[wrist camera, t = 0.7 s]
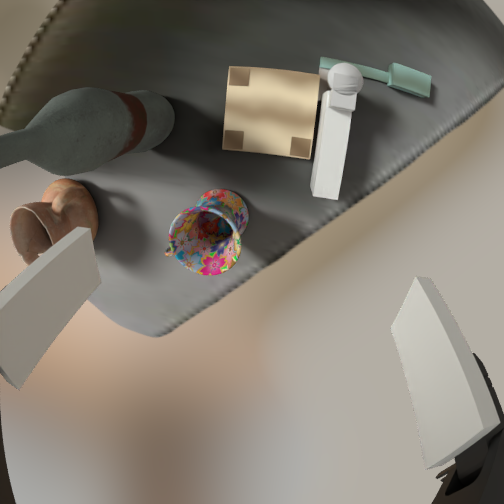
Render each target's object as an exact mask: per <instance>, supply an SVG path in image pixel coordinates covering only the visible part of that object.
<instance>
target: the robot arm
mask: <svg viewBox="0 0 504 504" xmlns="http://www.w3.org/2000/svg"><path fill="white" fill-rule="evenodd" d="M100 283H101V278H100V274H99V270H98V265H97V261H96V256H95V251H94V246H93V240H92V234H91V228H84V227H76V228H75V229H74V230H72V231H71V232H70V233H68V234H67V235H66V236H65V237H63V238H62V239H61V240H59V241H58V242H57V243H56V244H54V245H53V246H52V247H51V248H49V249H48V250H47V251H46V252H44V253H43V254H42V255H41V256H40V257H38V258H37V259H36V260H35V261H34V262H33V263H31V264H30V265H29V266H28V267H27V268H26V269H25V270H23V272H21V273H20V274H19V275H18V276H17V277H16V278H15V279H14V280H13V281H11V282H10V283H9V284H8V285H7V286H5V287H4V288H3V289H2V290H1V292H0V373H1V374H2V376H3V377H4V378H5V379H6V381H7V382H8V383H10V384H11V385H12V386H14V387H15V388H16V389H18V390H20V388H21V387H22V385H23V384H24V382H25V381H26V379H27V378H28V376H29V375H30V373H31V372H32V370H33V369H34V368H35V366H36V365H37V363H38V362H39V360H40V359H41V357H42V356H43V355H44V353H45V352H46V350H47V349H48V348H49V347H50V345H51V344H52V342H53V341H54V340H55V338H56V337H57V336H58V334H59V333H60V332H61V331H62V329H63V328H64V327H65V326H66V324H67V323H68V322H69V321H70V319H71V318H72V317H73V315H74V314H75V313H76V312H77V311H78V309H79V308H80V307H81V306H82V305H83V303H84V302H85V301H86V300H87V299H88V297H89V296H90V295H91V294H92V293H93V292H94V290H95V289H96V288H97V287H98V286H99V285H100ZM391 331H392V334H393V337H394V340H395V343H396V347H397V349H398V353H399V356H400V360H401V363H402V366H403V370H404V374H405V377H406V381H407V385H408V388H409V392H410V396H411V400H412V404H413V409H414V413H415V418H416V422H417V427H418V432H419V437H420V442H421V448H422V454H423V460H424V467H425V470H426V469H430V468H434V467H438V466H442V465H444V464H445V463H447V462H448V461H450V460H452V459H453V458H455V462H456V463H455V464H453V465H451V466H450V467H448V468H446V469H445V470H443V471H442V472H440V473H439V474H438V475H437V476H436V478H437V479H438V478H440V477H442V476H444V475H446V474H447V475H446V477H444V478H443V479H441V481H442V482H443V484H442V485H441V487H440V489H439V491H438V493H437V495H436V497H435V499H434V500H433V502H432V504H504V414H503V411H502V408H501V405H500V403H499V400H498V398H497V395H496V392H495V390H494V387H492V383H491V380H490V378H488V373H487V371H486V369H485V367H484V365H483V363H482V362H481V360H480V359H479V358H478V357H477V356H476V354H475V353H472V351H471V349H470V347H469V345H468V343H467V341H466V339H465V337H464V335H463V333H462V332H461V330H460V328H459V326H458V324H457V322H456V320H455V319H454V317H453V315H452V314H451V311H450V310H449V308H448V306H447V304H446V303H445V301H444V299H443V298H442V296H441V294H440V293H439V291H438V290H437V288H436V286H435V285H434V283H433V281H432V280H431V279H430V278H423V277H417V276H416V277H415V279H414V281H413V284H412V286H411V288H410V290H409V292H408V294H407V296H406V299H405V301H404V303H403V305H402V307H401V309H400V311H399V313H398V315H397V317H396V319H395V321H394V323H393V325H392V327H391ZM0 504H16V503H15V499H14V495H13V492H12V487H11V483H10V479H9V474H8V469H7V464H6V458H5V452H4V445H3V438H2V427H1V414H0Z"/></svg>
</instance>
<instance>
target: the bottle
mask: <svg viewBox="0 0 504 504" xmlns="http://www.w3.org/2000/svg"><path fill="white" fill-rule="evenodd" d="M174 121H175V117H174V110H173V108H172V105H171V104H170V103H169V102H168V101H167V100H166V98H164V97H163V96H161V95H159V94H157V93H154V92H152V91H145V90H140V91H133V92H128V93H120V92H114V91H108V90H104V89H99V88H88V87H86V88H80V89H75V90H70V91H68V92H65V93H63V94H61V95H58V96H56V97H54V98H52V99H51V100H50V101H49V102H48V103H47V104H46V105H45V106H44V107H43V108H42V109H41V111H40V112H39V113H38V114H37V115H36V116H35V117H34V118H33V120H32V121H31V122H30V123H29V124H28V125H27V127H26V128H25V129H22V130H18V131H14V132H11V133H8V134H4V135H1V136H0V168H3V167H6V166H9V165H11V164H14V163H17V162H20V161H23V160H28V161H30V162H31V163H33V164H35V165H37V166H39V167H41V168H43V169H45V170H47V171H48V172H51V173H52V174H56V175H60V176H61V175H62V176H69V175H74V174H79V173H83V172H88V171H93V170H95V169H96V168H98V167H100V166H101V165H103V164H105V163H106V162H109V161H111V160H113V159H115V158H117V157H119V156H121V155H123V154H129V153H139V152H146V151H148V150H150V149H152V148H154V147H155V146H157V145H159V144H160V143H162V142H163V141H164V140H165V139H166V138H167V137H168V135H169V134H170V132H171V130H172V129H173V125H174Z"/></svg>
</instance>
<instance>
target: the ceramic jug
mask: <svg viewBox="0 0 504 504" xmlns="http://www.w3.org/2000/svg"><path fill="white" fill-rule="evenodd" d="M76 227H84V228H91V234H92V240H94V238H95V236H96V234H97V230H98V212H97V208H96V205H95V202H94V200H93V198H92V196H91V194H90V193H89V191H88V190H87V189H86V188H85V187H84V186H83V185H82V184H80V183H79V182H77V181H75V180H72V179H66V178H65V179H59V180H57V181H55V182H53V183H52V184H51V185H50V186H49V187H48V188H47V189H46V191H45V193H44V195H43V197H42V201H41V202H34V203H29V204H25V205H22V206H19V207H17V208H16V209H15V210H14V211H13V213H12V214H11V218H10V234H11V239H12V242H13V245H14V247H15V250H16V252H17V253H18V255H19V256H22V261H23V262H24V263H25V264H26V265H27V266H29V265H30V264H31V263H33V262H34V261H35V260H36V259H37V258H38V257H40V256H38V254H39V253H44V252H46V251H47V250H48V249H49V248H51V247H52V246H53V245H54V244H56V243H57V242H58V241H59V240H61V239H62V238H63V237H65V236H66V235H67V234H68V233H70V232H71V231H72V230H74V229H75V228H76Z"/></svg>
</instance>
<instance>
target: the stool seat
mask: <svg viewBox="0 0 504 504" xmlns="http://www.w3.org/2000/svg"><path fill="white" fill-rule="evenodd" d="M339 63H348V64H351V65H353V66H355V67H356V68H357V69H358V70H359V71H360V73H361V74H362V77H366V78H370V79H374V80H377V81H381V82H384V83H387V86H389V87H393V88H396V89H399V90H402V91H405V92H408V93H411V94H414V95H417V96H419V97H422V98H424V97H430V86H431V76H429V75H427V74H425V73H422V72H419V71H417V70H414V69H411V68H409V67H406V66H403V65H400V64H397V63H393V64H390V65H389V69H388V73H387V72H384V71H381V70H377V69H374V68H370V67H366V66H362V65H358V64H354V63H350V62H345V61H340V60H336V59H330V58H325V57H321V58H320V68H319V75H316V74H310V73H303V72H296V71H288V70H279V69H268V68H255V67H234V66H229V74H228V85H227V96H226V107H225V119H224V132H223V146H222V149H223V150H235V151H246V152H256V153H265V154H274V155H282V156H289V157H296V158H303V159H310V156H311V148H312V141H313V133H314V125H315V117H316V109H317V100H318V101H322V94H323V93H325V92H326V91H328V90H329V91H331V88H330V87H329V85H328V82H327V75H328V72H329V70H330V69H331V68H332V67H333V66H334V65H336V64H339Z"/></svg>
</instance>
